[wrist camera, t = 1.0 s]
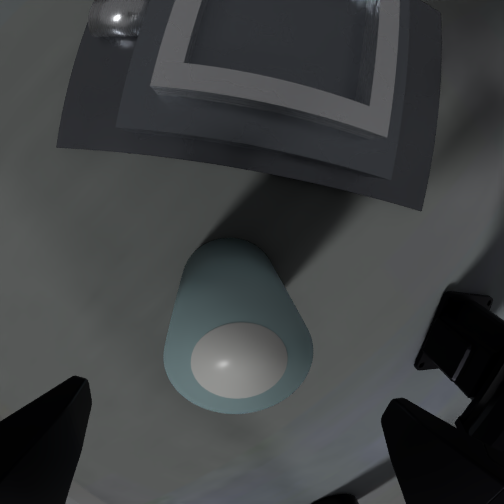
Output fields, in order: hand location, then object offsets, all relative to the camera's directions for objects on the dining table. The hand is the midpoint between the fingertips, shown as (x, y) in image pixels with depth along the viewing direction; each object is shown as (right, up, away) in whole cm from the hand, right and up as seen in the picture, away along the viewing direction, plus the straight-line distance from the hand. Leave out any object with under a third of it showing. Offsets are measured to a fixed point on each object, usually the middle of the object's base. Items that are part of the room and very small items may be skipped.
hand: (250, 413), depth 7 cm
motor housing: (+1, +15, +5) cm, 16 cm away
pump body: (-1, +3, +9) cm, 9 cm away
